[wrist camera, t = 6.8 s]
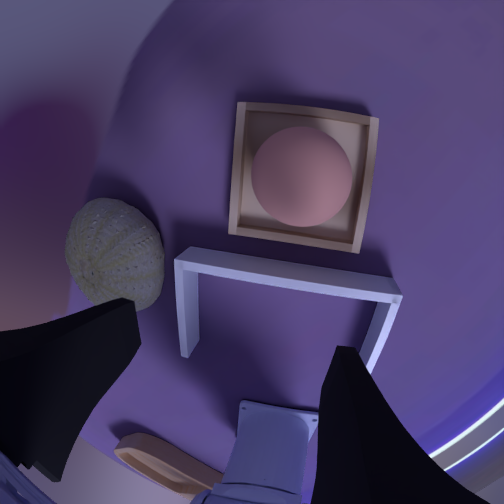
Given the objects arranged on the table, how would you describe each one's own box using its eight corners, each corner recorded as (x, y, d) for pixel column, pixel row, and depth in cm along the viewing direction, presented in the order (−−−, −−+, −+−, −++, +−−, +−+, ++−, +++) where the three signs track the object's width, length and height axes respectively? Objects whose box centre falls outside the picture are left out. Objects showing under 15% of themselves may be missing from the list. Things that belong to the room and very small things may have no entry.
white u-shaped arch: (360, 367, 19) (362, 389, 17) (193, 337, 22) (181, 356, 20) (393, 277, 16) (402, 295, 14) (190, 246, 19) (174, 259, 17)
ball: (338, 220, 16) (351, 247, 11) (256, 209, 16) (236, 231, 12) (348, 138, 14) (367, 130, 9) (263, 127, 15) (245, 115, 10)
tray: (356, 247, 16) (359, 253, 15) (233, 228, 18) (228, 233, 17) (374, 120, 13) (378, 118, 12) (242, 105, 15) (237, 101, 14)
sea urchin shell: (90, 166, 17) (77, 240, 12) (174, 199, 22) (196, 271, 17) (59, 249, 20) (53, 325, 15) (130, 268, 26) (141, 337, 21)
